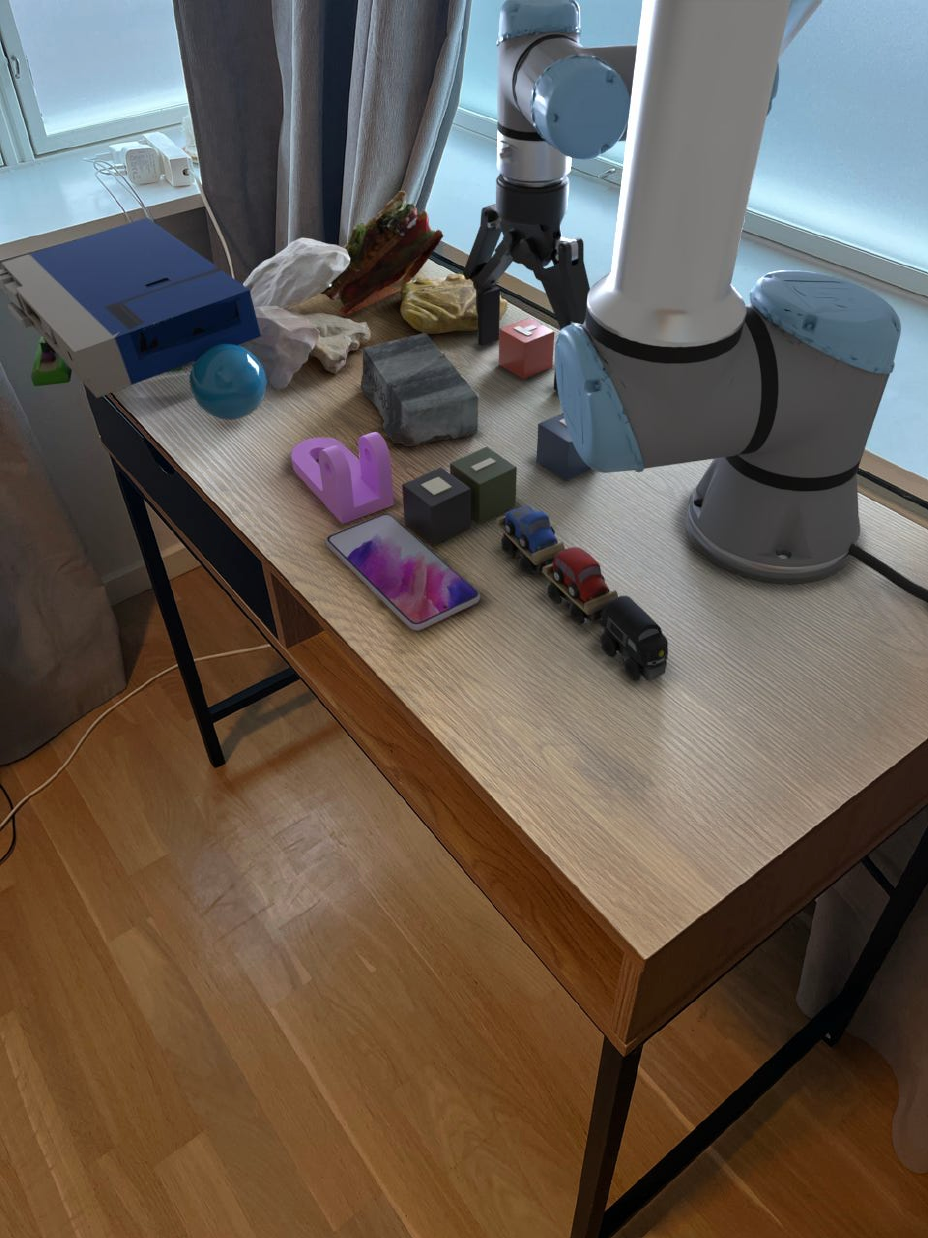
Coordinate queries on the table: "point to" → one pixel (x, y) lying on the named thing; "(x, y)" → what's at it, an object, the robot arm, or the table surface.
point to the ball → (228, 381)
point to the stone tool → (281, 343)
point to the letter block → (526, 347)
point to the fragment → (296, 273)
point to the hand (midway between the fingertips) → (525, 363)
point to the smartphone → (402, 571)
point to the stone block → (418, 391)
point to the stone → (335, 338)
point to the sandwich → (384, 255)
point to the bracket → (346, 474)
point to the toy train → (585, 592)
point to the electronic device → (127, 304)
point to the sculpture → (442, 304)
